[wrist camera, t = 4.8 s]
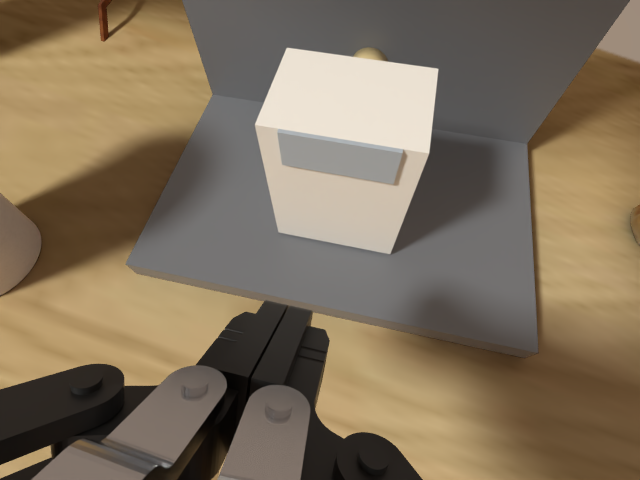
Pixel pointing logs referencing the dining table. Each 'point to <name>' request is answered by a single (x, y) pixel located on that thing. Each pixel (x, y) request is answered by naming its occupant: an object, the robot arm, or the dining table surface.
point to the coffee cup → (16, 245)
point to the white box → (345, 145)
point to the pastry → (636, 223)
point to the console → (433, 186)
